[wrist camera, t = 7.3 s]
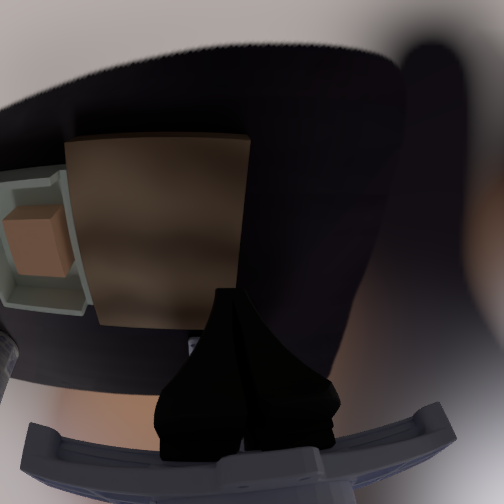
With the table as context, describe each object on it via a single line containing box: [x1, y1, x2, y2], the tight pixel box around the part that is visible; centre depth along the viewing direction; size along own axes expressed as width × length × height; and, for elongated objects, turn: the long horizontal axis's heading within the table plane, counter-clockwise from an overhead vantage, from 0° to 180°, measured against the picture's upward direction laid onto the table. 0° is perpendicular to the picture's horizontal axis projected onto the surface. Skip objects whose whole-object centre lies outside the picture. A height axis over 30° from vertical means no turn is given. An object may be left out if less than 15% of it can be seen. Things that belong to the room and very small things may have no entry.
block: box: [2, 204, 75, 277], centre depth 19 cm, size 5×5×2 cm
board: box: [64, 132, 251, 330], centre depth 21 cm, size 16×12×2 cm
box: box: [0, 164, 94, 316], centre depth 19 cm, size 12×10×3 cm
